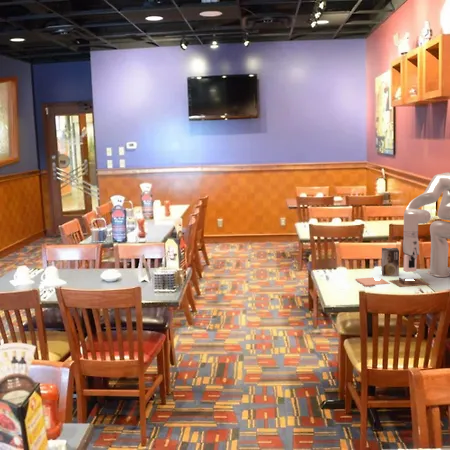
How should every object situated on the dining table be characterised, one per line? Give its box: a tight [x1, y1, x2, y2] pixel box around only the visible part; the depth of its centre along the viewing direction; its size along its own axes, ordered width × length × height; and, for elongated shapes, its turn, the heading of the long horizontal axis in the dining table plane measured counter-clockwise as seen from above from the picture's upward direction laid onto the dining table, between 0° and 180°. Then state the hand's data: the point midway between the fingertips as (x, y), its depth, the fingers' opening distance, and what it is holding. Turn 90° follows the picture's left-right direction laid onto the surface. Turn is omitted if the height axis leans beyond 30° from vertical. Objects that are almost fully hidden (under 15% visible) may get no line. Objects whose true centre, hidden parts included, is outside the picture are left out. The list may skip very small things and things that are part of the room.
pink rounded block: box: [403, 254, 418, 273], centre depth 331 cm, size 6×3×9 cm, turn 101°
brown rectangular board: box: [388, 277, 431, 288], centre depth 333 cm, size 18×14×3 cm
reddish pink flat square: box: [354, 276, 391, 288], centre depth 338 cm, size 14×14×1 cm
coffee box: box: [381, 247, 400, 277], centre depth 350 cm, size 9×6×16 cm
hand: (410, 266), depth 332 cm, fingers closed on pink rounded block, 2 cm apart
